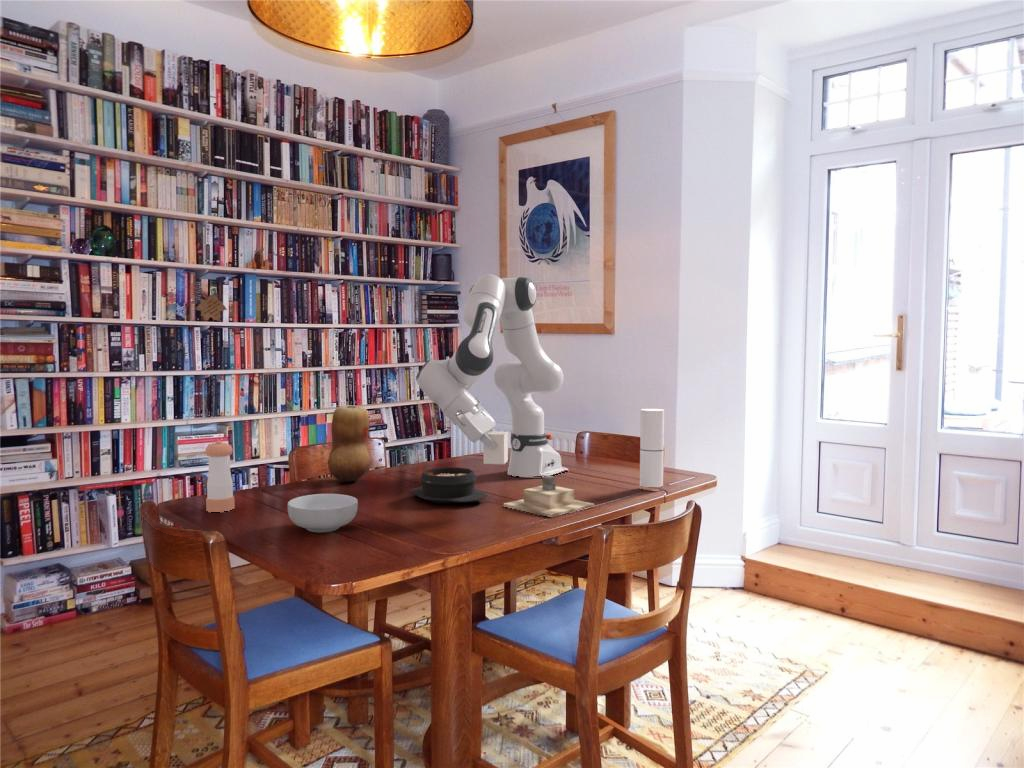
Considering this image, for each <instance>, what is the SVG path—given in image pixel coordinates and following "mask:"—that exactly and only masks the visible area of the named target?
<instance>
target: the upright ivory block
mask: <svg viewBox="0 0 1024 768" xmlns="http://www.w3.org/2000/svg"><path fill="white" fill-rule="evenodd" d="M486 434H487V435H488V437H489V438H490V439H491V440H492V441H494V442H495V443H496V444H497V445H498V446H497V447H496V448H495V449H494V450H491V449H490V448H489V447H488V446H487V445H485V444H484V443H482V444H483V464H484V465H506V464H507V462H508V461H509V431H496V430H495V431H488V432H487V433H486Z"/></svg>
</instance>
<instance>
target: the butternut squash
mask: <svg viewBox="0 0 1024 768" xmlns="http://www.w3.org/2000/svg"><path fill="white" fill-rule="evenodd" d="M332 415H333V416H332V418H331V430H330V431H331V445H332V446H331V451H330V453H329V456H328V459H327V468H328V471H329V473H330V474H331V476H332V477H334V478H335V479H336V480H337V481H338V482H340V483H347V482H348V483H350V482H357V481H358V480H359V479H361V478H362V477H363V476H365V475H366V473H367V472H368V471H369V469H370V467H371V457H370V452H369V450H368V446H367V444H368V443H367V441H368V437H369V436H368V435H369V433H370V415H369V411H368V409H367V408H365V407H364V406H358V405H351V404H347V405H344V404H343V405H339V406H338V407H336V408H335V410H334V411H333V414H332Z"/></svg>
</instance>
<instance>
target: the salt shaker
mask: <svg viewBox="0 0 1024 768" xmlns="http://www.w3.org/2000/svg"><path fill="white" fill-rule="evenodd" d="M204 452H205V455H206V456H208V473H207V474H208V475H207V481H206V489H207V490H206V491H207V493H206V494H207V495H206V496H207V497H206V498H205V506H206V507H205V508H206V512H207V511H208V513H211V512H220V513H225V512H224V511H228V512H231V511H230V510H232V509H234V508H235V506H236V505H235V496H234V492H233V491H234V488H233V487H234V484H233V483H234V482H233V478H232V472H231V455H232V453H233V452H234V451H233V446H232V445H231V444H229V443H226V442H223V441H222V440H216V442H215V443H210V444H209V445H207V446H206V448H205V450H204ZM234 510H235V509H234ZM232 511H233V510H232Z"/></svg>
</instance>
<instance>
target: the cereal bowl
mask: <svg viewBox="0 0 1024 768" xmlns="http://www.w3.org/2000/svg"><path fill="white" fill-rule="evenodd" d="M358 507H359V501H358V498H356V497H354V496H351V495H348V494H340V493H316V494H307V495H301V496H298V497H295V498H294V497H293V498H292V499H289V501H288V502H287V513H288V516H289V517H288V518H289V519H290V521H291V522H293V523H294V524H295V525H296V526H297V527H300V528H304V529H306V530H307V531H308V532H311V533H329V532H334V531H336V530H339V529H340V528H341V527H343V526H346V525H348V524H349V523H351V522H352V521H353V520H354V518H355V517H356V516H357V513H358Z"/></svg>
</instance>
